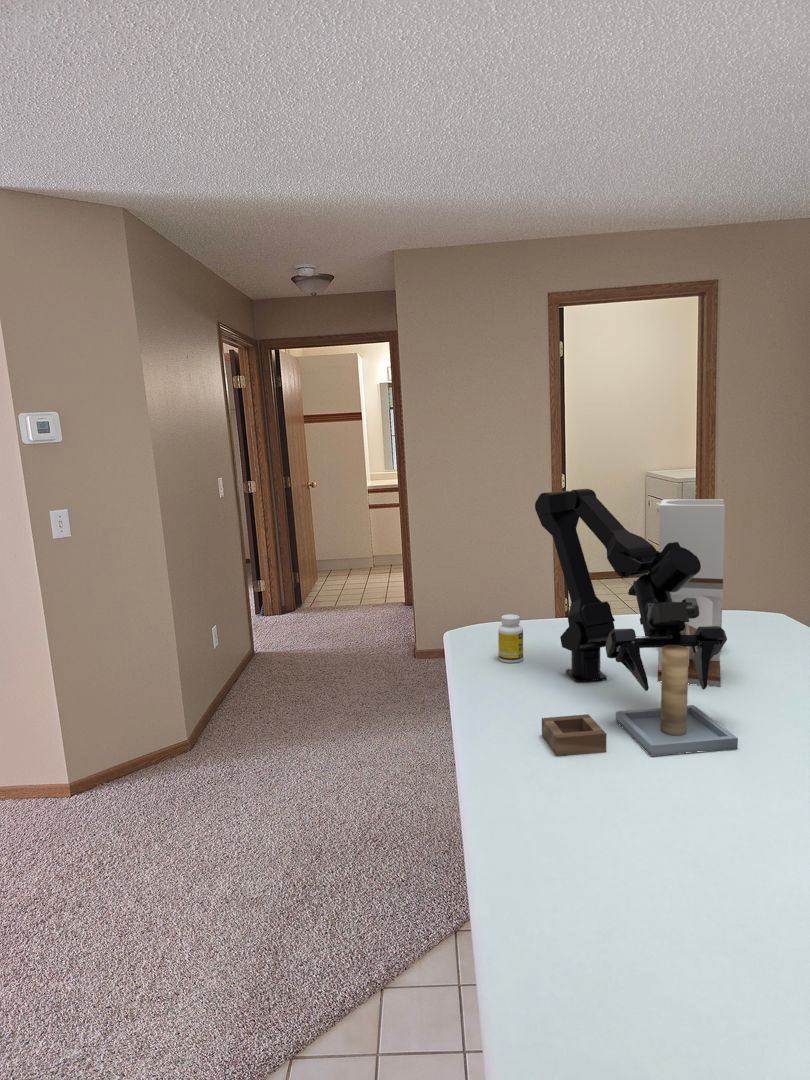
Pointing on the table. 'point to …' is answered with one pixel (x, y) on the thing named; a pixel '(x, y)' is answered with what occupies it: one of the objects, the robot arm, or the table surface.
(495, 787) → the table surface
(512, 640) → the supplement bottle
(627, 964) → the table surface
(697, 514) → the spiral staircase model
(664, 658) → the oak dowel
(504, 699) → the table surface
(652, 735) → the plastic tray
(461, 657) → the table surface
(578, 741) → the walnut holder
